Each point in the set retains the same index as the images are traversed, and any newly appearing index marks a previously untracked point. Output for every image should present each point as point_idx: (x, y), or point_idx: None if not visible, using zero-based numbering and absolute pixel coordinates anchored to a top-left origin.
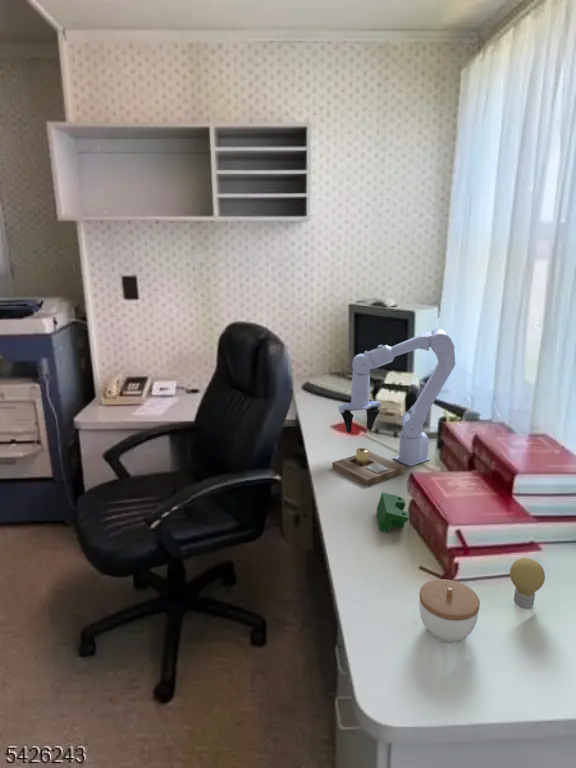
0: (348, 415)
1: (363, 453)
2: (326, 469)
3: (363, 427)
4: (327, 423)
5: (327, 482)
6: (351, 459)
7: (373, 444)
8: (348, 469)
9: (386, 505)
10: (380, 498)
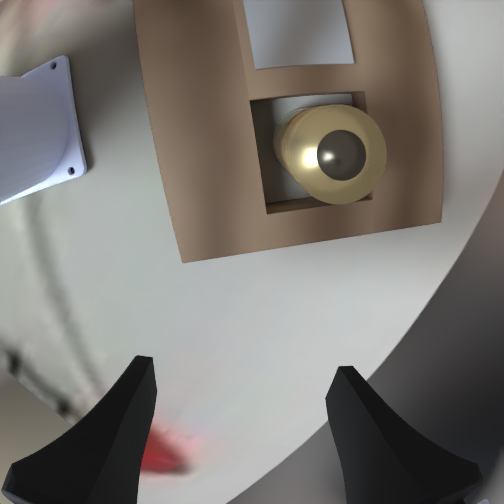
0: (479, 478)
1: (363, 112)
2: (447, 214)
3: None
4: (187, 482)
5: (499, 114)
6: (348, 206)
7: (103, 347)
8: (435, 108)
9: None
10: None
